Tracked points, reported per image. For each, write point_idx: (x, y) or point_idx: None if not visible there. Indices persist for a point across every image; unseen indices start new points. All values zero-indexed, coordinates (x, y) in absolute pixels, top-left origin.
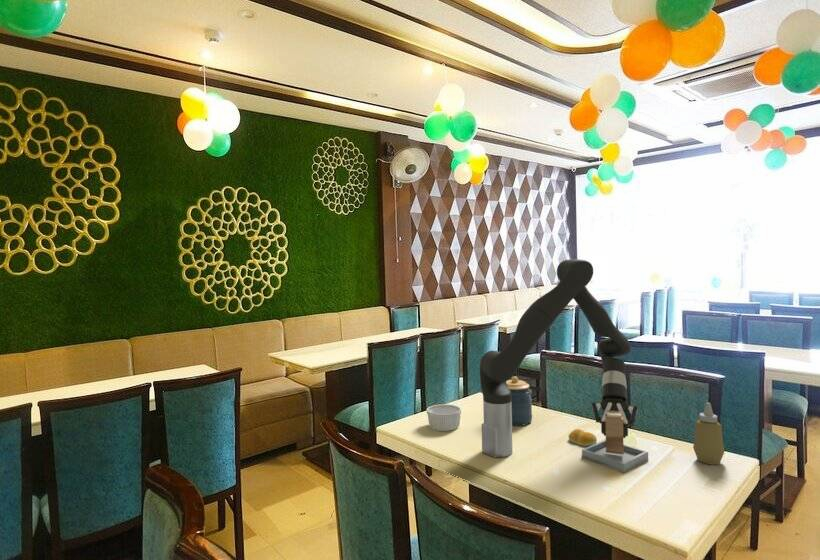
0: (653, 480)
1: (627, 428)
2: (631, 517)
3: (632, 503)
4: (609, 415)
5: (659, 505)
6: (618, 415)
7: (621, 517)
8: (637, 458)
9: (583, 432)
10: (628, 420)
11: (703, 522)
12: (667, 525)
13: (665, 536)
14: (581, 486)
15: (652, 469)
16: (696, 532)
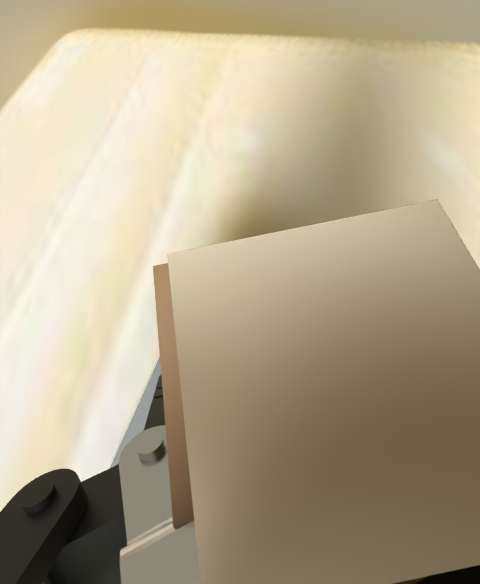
0: (99, 268)
1: (153, 408)
2: (162, 59)
3: (163, 106)
4: (386, 226)
5: (95, 129)
6: (221, 246)
7: (182, 50)
8: (150, 385)
9: None
10: (103, 524)
11: (4, 113)
12: (87, 69)
13: (96, 40)
14: (316, 114)
15: (95, 380)
16: (32, 76)
